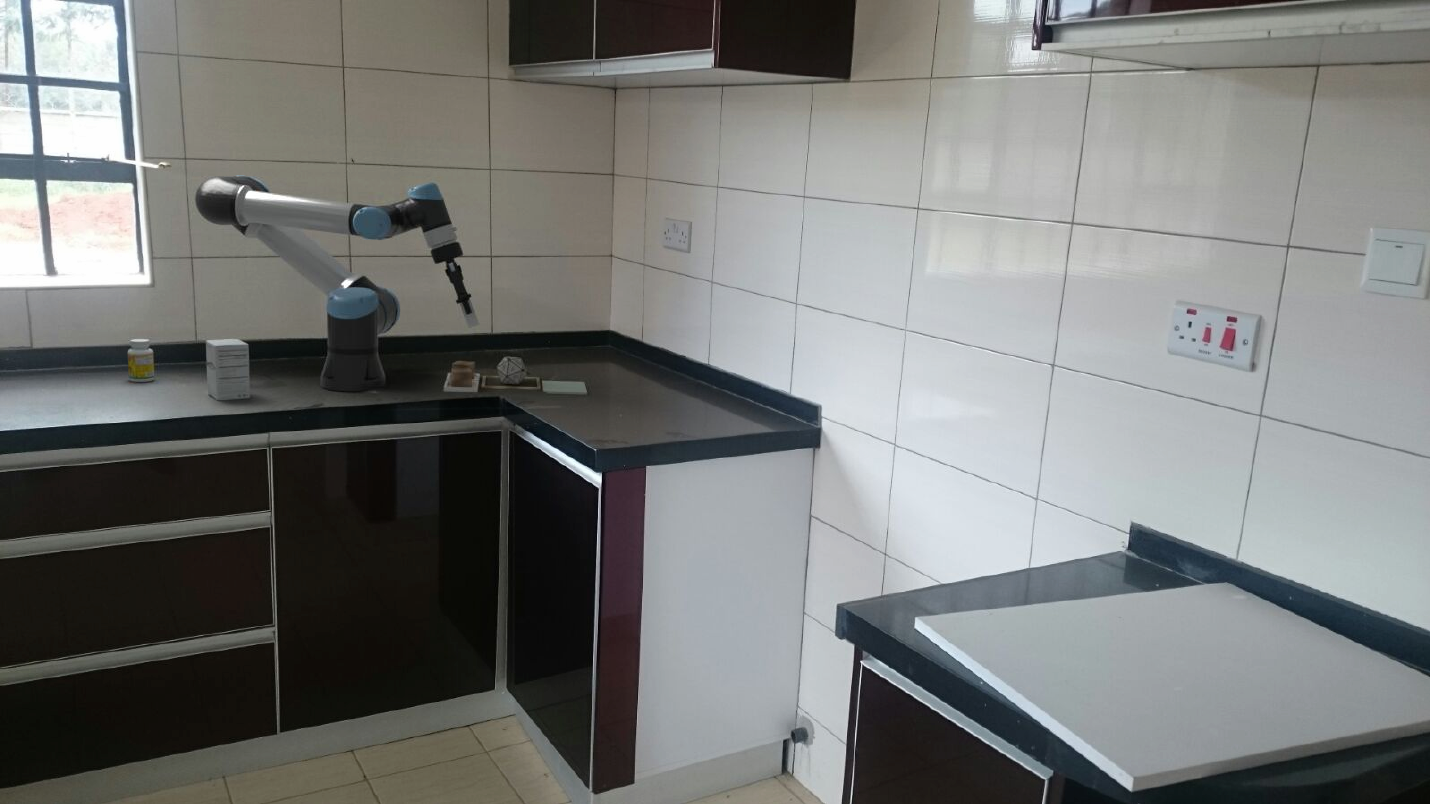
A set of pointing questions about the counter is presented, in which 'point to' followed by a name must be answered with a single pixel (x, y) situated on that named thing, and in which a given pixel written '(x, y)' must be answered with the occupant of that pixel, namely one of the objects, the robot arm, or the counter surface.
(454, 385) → the block front
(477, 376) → the dish back
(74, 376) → the counter surface
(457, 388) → the dish front
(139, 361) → the supplement bottle
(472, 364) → the block back
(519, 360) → the game die
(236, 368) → the supplement box
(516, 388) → the oak frame
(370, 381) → the robot arm
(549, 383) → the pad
